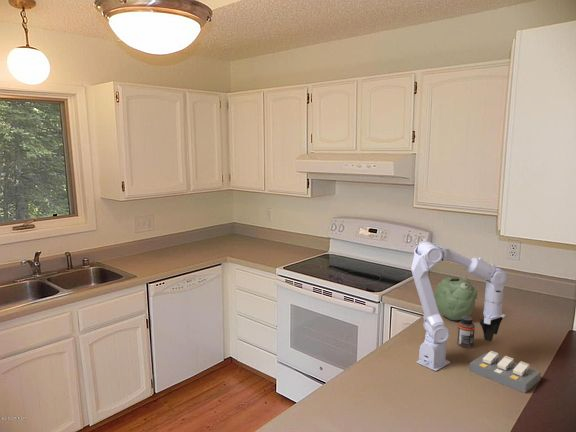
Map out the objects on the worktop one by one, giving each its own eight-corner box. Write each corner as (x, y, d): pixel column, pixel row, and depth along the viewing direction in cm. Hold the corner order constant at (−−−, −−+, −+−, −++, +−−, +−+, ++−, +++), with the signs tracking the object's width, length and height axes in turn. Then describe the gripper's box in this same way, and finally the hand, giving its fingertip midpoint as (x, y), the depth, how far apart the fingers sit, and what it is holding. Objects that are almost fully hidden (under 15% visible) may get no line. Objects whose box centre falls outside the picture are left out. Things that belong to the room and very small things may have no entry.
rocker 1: (490, 364, 142) (490, 361, 142) (482, 361, 144) (482, 358, 144) (498, 356, 146) (498, 353, 146) (490, 353, 148) (490, 350, 148)
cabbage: (438, 309, 203) (440, 269, 200) (479, 318, 191) (482, 276, 188) (426, 319, 190) (428, 277, 187) (470, 329, 179) (473, 284, 176)
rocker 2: (505, 370, 138) (505, 366, 138) (497, 367, 141) (497, 363, 140) (513, 361, 142) (513, 358, 142) (505, 358, 144) (505, 355, 144)
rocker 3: (521, 376, 135) (521, 372, 134) (513, 372, 137) (513, 369, 136) (529, 367, 138) (529, 364, 138) (520, 364, 140) (520, 360, 140)
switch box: (525, 393, 131) (526, 378, 130) (469, 370, 145) (470, 357, 144) (540, 380, 138) (541, 366, 138) (485, 360, 152) (486, 347, 151)
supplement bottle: (459, 340, 168) (461, 313, 167) (475, 344, 165) (477, 317, 163) (455, 345, 164) (456, 318, 162) (470, 350, 160) (472, 321, 158)
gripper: (501, 308, 139) (498, 347, 141) (510, 297, 151) (507, 333, 153) (478, 304, 144) (476, 341, 146) (489, 293, 155) (487, 328, 157)
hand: (490, 337), depth 149 cm, fingers open, 7 cm apart
